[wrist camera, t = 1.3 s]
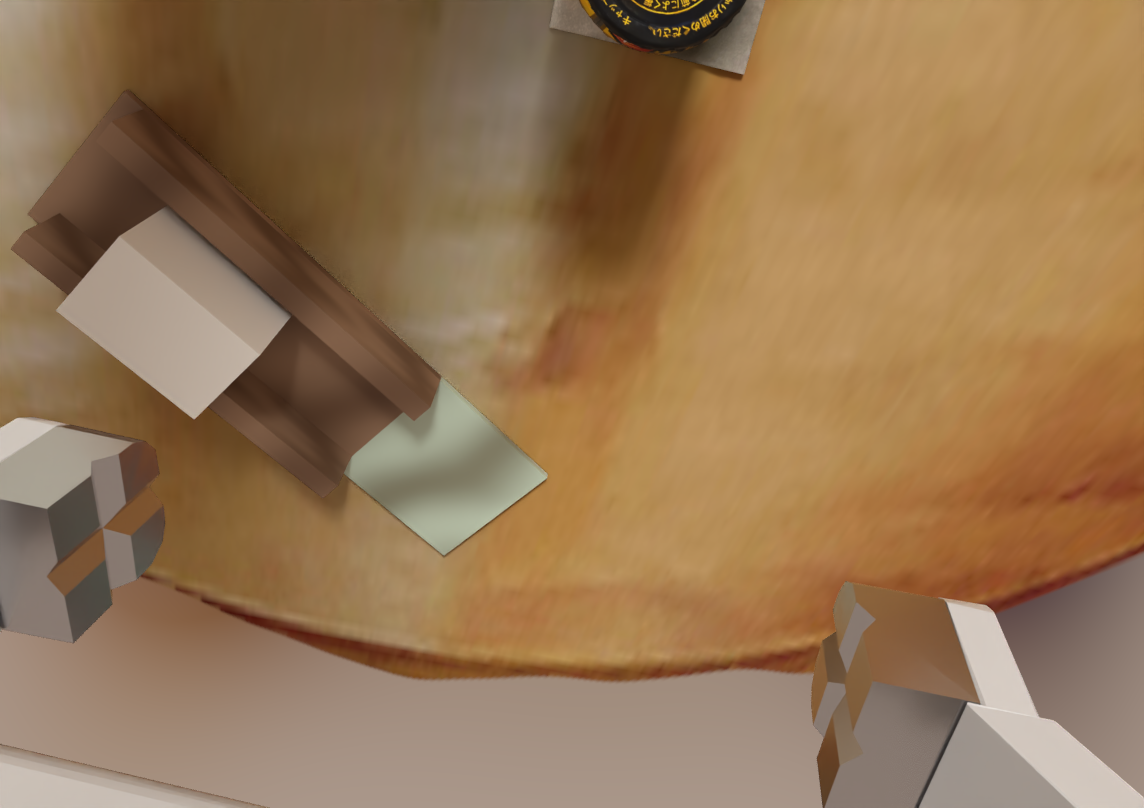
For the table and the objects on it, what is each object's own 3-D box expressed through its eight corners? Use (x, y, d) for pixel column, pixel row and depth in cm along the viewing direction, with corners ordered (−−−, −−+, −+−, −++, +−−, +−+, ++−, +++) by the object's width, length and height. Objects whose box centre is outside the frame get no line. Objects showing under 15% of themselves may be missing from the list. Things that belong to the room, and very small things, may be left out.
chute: (32, 211, 41) (-10, 232, 38) (128, 89, 38) (90, 102, 35) (444, 551, 50) (435, 588, 47) (547, 474, 47) (544, 508, 44)
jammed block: (125, 261, 41) (55, 310, 36) (184, 194, 39) (119, 236, 34) (243, 360, 43) (194, 419, 38) (303, 301, 42) (260, 355, 36)
